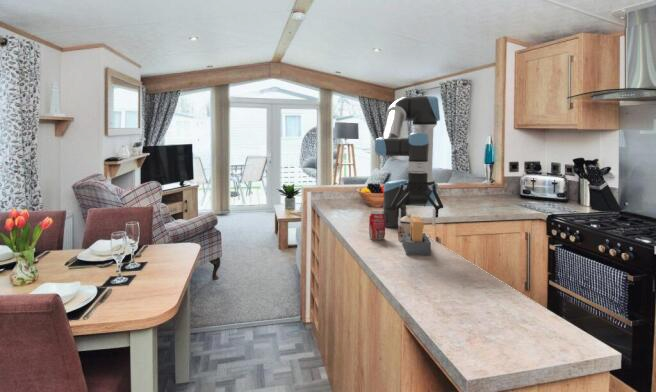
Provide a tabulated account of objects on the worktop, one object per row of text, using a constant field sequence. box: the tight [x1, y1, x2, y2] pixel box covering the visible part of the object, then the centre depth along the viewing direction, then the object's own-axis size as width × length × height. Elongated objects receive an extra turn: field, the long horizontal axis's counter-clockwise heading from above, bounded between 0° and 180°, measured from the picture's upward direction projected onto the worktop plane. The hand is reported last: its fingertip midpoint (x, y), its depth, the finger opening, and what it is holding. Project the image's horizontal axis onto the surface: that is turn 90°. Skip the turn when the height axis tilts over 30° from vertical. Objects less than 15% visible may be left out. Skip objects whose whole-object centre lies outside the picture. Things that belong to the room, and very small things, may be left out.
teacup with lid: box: [397, 213, 413, 242], centre depth 193 cm, size 12×9×12 cm
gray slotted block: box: [401, 233, 432, 257], centre depth 177 cm, size 9×17×5 cm, turn 175°
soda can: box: [368, 211, 386, 241], centre depth 196 cm, size 7×7×12 cm
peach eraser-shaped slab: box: [410, 216, 425, 241], centre depth 177 cm, size 4×12×12 cm, turn 176°
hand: (416, 225), depth 176 cm, fingers open, 13 cm apart
